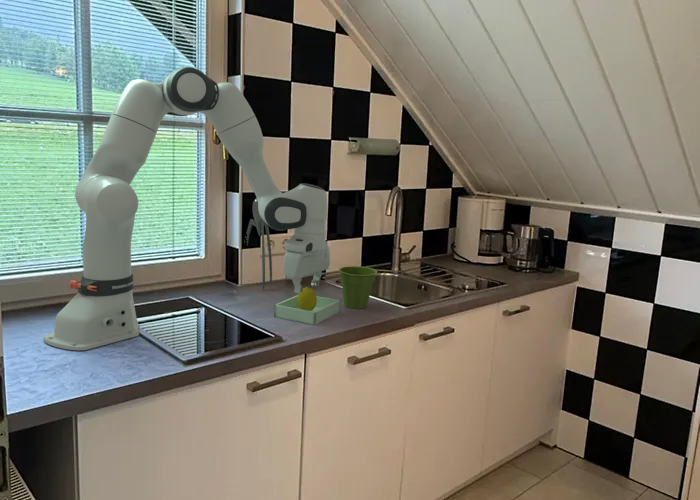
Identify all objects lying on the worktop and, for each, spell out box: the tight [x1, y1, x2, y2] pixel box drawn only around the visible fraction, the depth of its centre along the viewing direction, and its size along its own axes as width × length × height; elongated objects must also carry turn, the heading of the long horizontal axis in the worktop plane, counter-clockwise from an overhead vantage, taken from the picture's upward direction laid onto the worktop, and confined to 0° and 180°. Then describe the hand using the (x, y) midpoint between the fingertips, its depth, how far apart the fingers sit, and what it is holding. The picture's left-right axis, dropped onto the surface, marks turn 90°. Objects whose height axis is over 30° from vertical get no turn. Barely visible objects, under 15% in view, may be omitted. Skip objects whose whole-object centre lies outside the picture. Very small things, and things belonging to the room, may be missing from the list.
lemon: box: [297, 286, 317, 311], centre depth 170 cm, size 6×6×8 cm
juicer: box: [245, 198, 273, 292], centre depth 198 cm, size 10×11×30 cm
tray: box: [273, 294, 341, 326], centre depth 171 cm, size 15×13×4 cm
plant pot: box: [338, 265, 378, 310], centre depth 181 cm, size 12×12×11 cm
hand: (306, 289), depth 170 cm, fingers open, 8 cm apart
